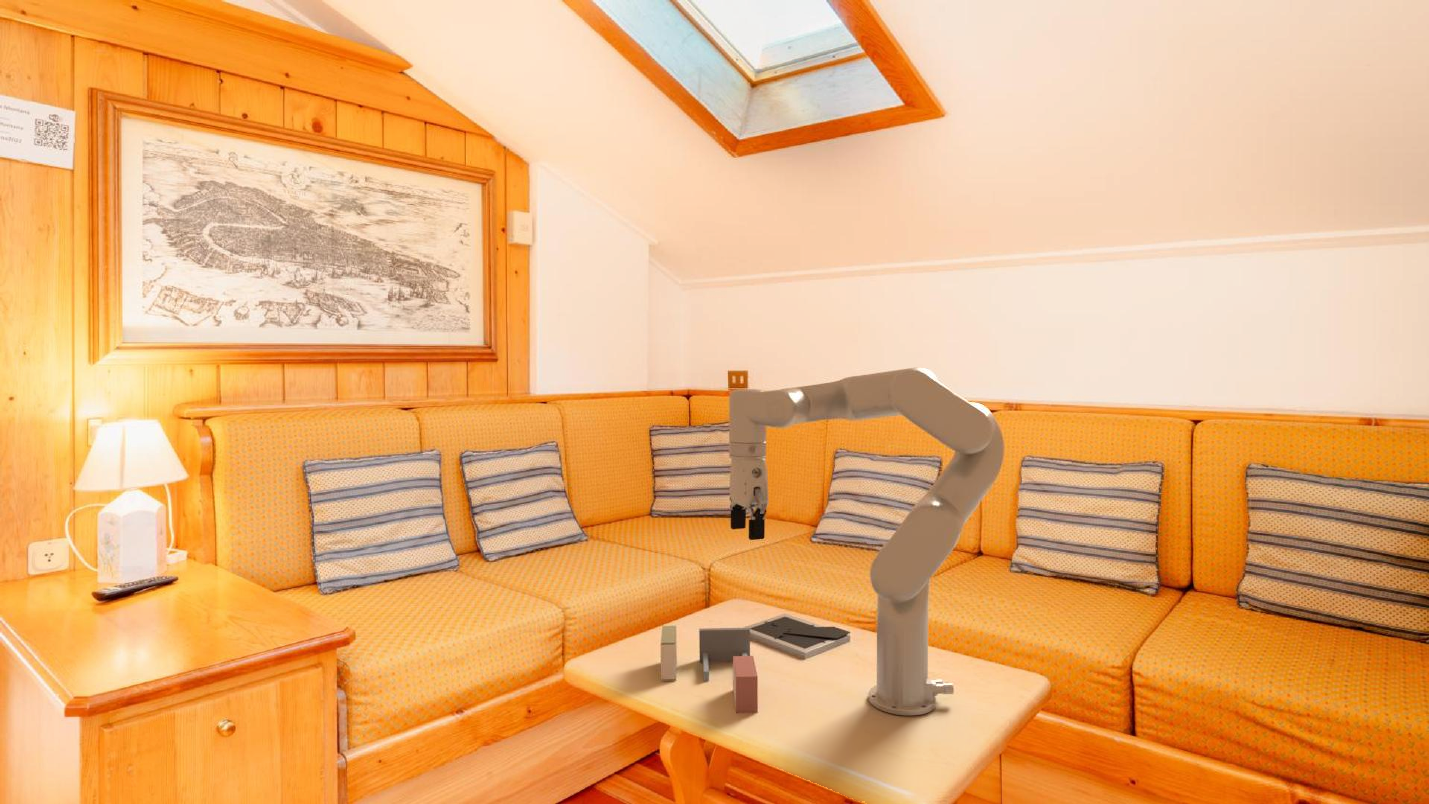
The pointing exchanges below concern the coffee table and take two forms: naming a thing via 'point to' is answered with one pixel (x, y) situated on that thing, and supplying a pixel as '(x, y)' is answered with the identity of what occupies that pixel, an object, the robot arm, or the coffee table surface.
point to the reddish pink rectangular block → (745, 684)
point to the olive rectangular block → (668, 653)
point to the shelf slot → (722, 645)
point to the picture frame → (797, 635)
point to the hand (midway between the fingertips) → (747, 533)
